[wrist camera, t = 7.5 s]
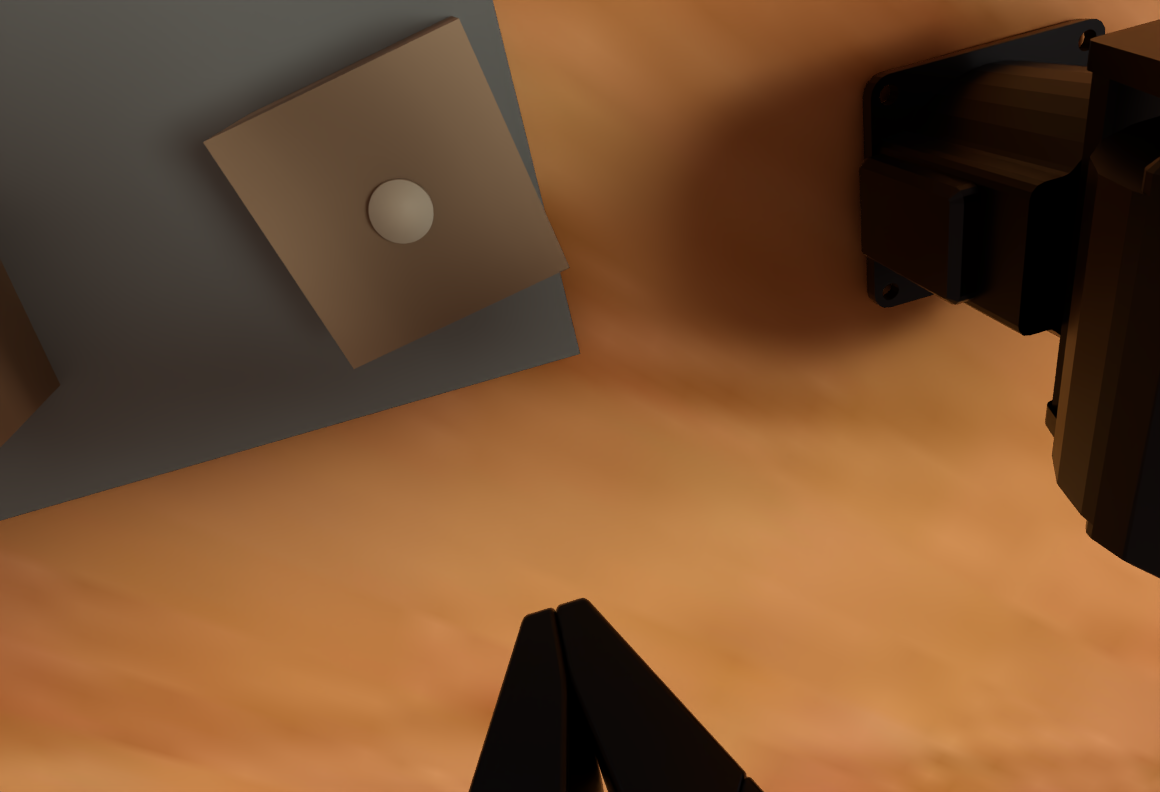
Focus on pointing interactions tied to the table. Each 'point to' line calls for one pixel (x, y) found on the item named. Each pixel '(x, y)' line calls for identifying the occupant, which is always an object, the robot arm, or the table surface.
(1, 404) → the pip block two
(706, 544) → the table surface
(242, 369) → the mat
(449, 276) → the pip block one
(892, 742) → the table surface
